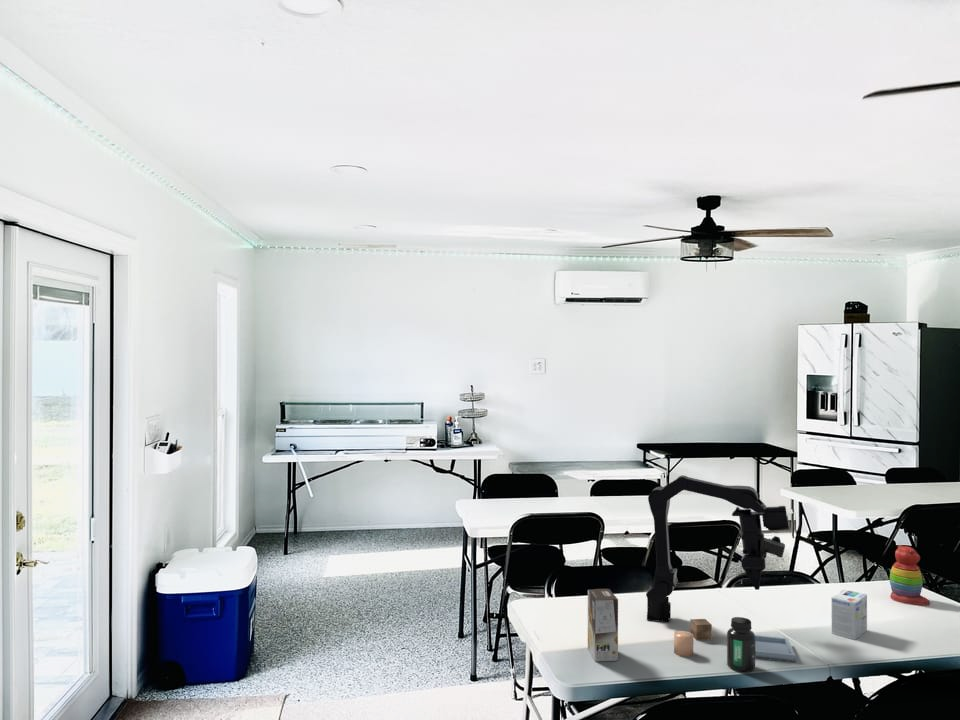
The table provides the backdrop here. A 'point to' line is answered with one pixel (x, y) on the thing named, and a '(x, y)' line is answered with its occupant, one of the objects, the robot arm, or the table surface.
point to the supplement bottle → (741, 645)
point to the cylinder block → (683, 643)
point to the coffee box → (603, 625)
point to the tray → (774, 648)
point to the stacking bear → (907, 577)
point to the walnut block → (701, 629)
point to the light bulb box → (849, 614)
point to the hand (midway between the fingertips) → (757, 584)
